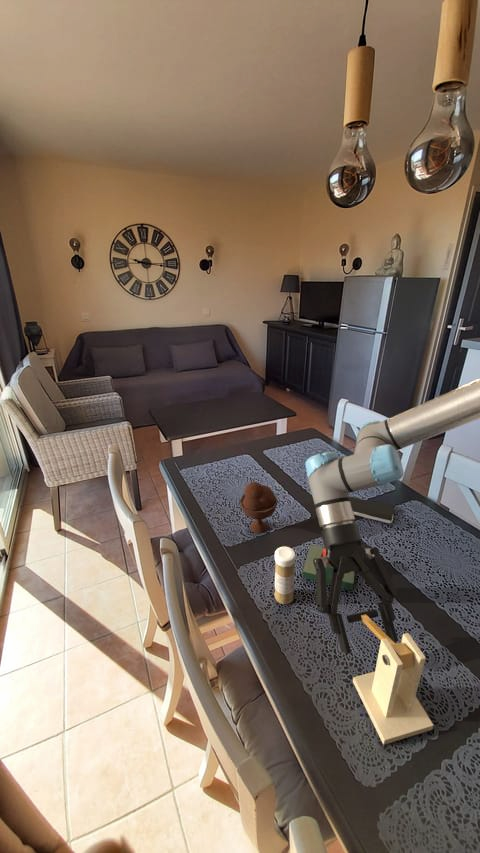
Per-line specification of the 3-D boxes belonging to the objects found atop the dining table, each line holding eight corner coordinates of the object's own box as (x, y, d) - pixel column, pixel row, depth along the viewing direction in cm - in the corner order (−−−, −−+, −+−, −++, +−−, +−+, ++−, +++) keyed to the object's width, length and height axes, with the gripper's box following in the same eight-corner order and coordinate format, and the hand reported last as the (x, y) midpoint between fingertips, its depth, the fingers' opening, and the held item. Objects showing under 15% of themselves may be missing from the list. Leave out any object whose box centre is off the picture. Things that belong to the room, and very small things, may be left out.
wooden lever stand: (352, 681, 67) (361, 626, 61) (395, 669, 69) (408, 615, 63) (383, 744, 58) (396, 687, 52) (432, 729, 60) (450, 672, 54)
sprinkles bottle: (282, 586, 87) (283, 542, 82) (297, 596, 84) (299, 552, 79) (270, 597, 85) (270, 553, 79) (285, 609, 82) (286, 563, 76)
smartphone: (392, 521, 106) (340, 509, 112) (391, 524, 107) (340, 512, 113) (394, 506, 113) (345, 495, 119) (393, 509, 114) (344, 498, 119)
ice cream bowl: (247, 543, 101) (246, 499, 95) (236, 519, 111) (235, 477, 105) (282, 535, 104) (283, 491, 98) (269, 512, 114) (269, 471, 108)
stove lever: (347, 623, 70) (346, 611, 70) (375, 617, 71) (374, 605, 71) (390, 673, 56) (389, 658, 56) (424, 664, 57) (423, 649, 57)
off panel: (355, 560, 94) (357, 549, 93) (352, 590, 86) (354, 578, 84) (309, 550, 98) (310, 539, 96) (302, 578, 90) (303, 565, 88)
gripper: (376, 519, 82) (409, 630, 74) (284, 535, 78) (309, 655, 70) (393, 514, 75) (432, 636, 67) (293, 532, 71) (322, 664, 63)
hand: (369, 646), depth 68 cm, fingers open, 9 cm apart
